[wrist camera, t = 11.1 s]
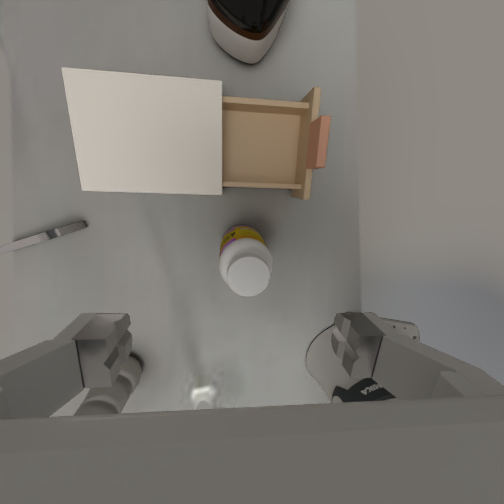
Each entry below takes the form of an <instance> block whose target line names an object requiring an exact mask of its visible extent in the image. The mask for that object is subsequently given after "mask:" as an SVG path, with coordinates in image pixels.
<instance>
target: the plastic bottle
mask: <svg viewBox="0 0 504 504" xmlns="http://www.w3.org/2000/svg"><path fill="white" fill-rule="evenodd" d="M120 367H121V371H120V373H119V375H118V377H117V378H116V380H115V382H114V384H113V385H112V386H111V387H95V388H90V390H89V392H88V394H87V396H86V398H85V399H84V401H83V403H82V404H81V405H80V407H79V408H78V410H77V411H76V412H75V414H74V415H73V416H79V415H100V414H120V413H121V411H122V410H123V408H124V406H125V404H126V402H127V400H128V399H129V397H130V395H131V394H132V392H133V391H134V389H135V388H136V386H137V385H138V383H139V381H140V377H141V372H142V369H141V366H140V364H139V362H138V360H137V359H135V358H134V357H132V356H129V357H128V359H127V361H125V362H124V363H122V364H121V365H120Z"/></svg>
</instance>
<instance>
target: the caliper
mask: <svg viewBox="0 0 504 504" xmlns="http://www.w3.org/2000/svg"><path fill="white" fill-rule="evenodd" d="M83 228H86V225H85V223H84V221H81V222H77V223H74V224H70V225H67V226H63V227H60V228H57V229H53V230H50V231H47V232H44V233H40V234H37V235H34V236H31V237H28V238H25V239H22V240H18V241H15V242H12V243H9V244H6V245H3V246H0V254H3V253H6V252H10V251H13V250H16V249H20V248H23V247H26V246H29V245H33V244H36V243H39V242H43V241H46V240H49V239H52V238H56V237H59V236H62V235H65V234H68V233H71V232H74V231H77V230H80V229H83Z"/></svg>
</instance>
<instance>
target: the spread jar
mask: <svg viewBox="0 0 504 504" xmlns="http://www.w3.org/2000/svg"><path fill="white" fill-rule="evenodd" d="M289 1H290V0H206V3H207V14H208V22H209V27H210V31H211V34H212V36H213V38H214V39H215V41H216V42H217V43H218V44H219V45H220V46H221V47H222V48H223V49H224V50H225V51H226V52H227V53H228V54H230V55H231V56H233V57H234V58H236V59H238V60H240V61H243V62H245V63H250V64H253V63H257V62H258V61H260V60H261V59H262V58H263V57H264V55H265V54H266V53H267V51H268V50H269V48H270V47H271V45H272V44H273V42H274V40H275V38H276V36H277V33H278V31H279V29H280V26H281V24H282V21H283V18H284V15H285V13H286V10H287V7H288V4H289Z"/></svg>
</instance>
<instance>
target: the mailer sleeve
mask: <svg viewBox="0 0 504 504" xmlns="http://www.w3.org/2000/svg"><path fill="white" fill-rule="evenodd" d="M61 68H62V74H63V80H64V86H65V92H66V97H67V103H68V109H69V115H70V121H71V127H72V133H73V139H74V145H75V151H76V157H77V163H78V169H79V175H80V181H81V187H82V191H109V192H141V193H173V194H204V195H222V193H223V186H222V96H223V93H222V81H217V80H205V79H193V78H181V77H170V76H158V75H146V74H134V73H122V72H111V71H99V70H87V69H75V68H63V67H61Z"/></svg>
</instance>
